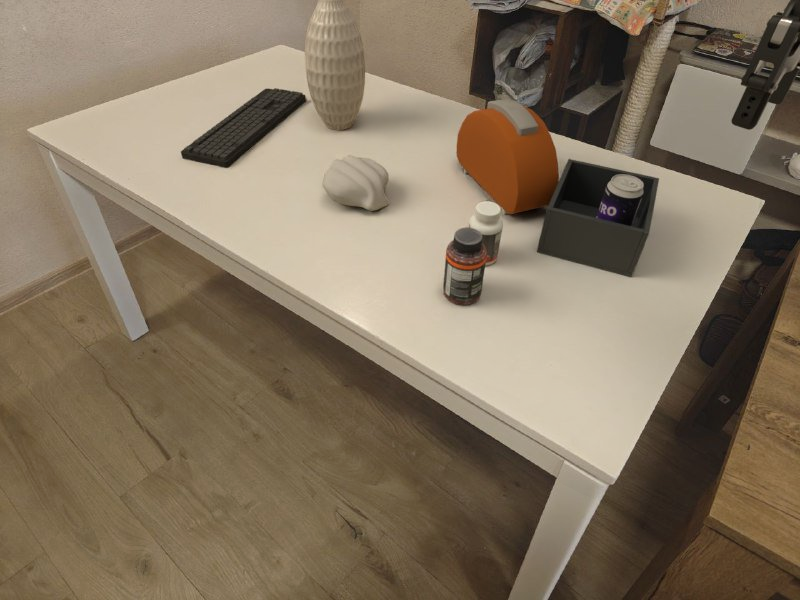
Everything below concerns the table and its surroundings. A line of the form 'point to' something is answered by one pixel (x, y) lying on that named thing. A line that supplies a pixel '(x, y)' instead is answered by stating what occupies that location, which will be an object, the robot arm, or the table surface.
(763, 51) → the robot arm
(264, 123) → the keyboard
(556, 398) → the table surface
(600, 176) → the open storage box
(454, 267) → the supplement bottle
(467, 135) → the alarm clock
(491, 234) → the pill bottle
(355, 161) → the shell shaped sculpture
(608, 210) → the beverage can
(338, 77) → the vase
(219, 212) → the table surface
